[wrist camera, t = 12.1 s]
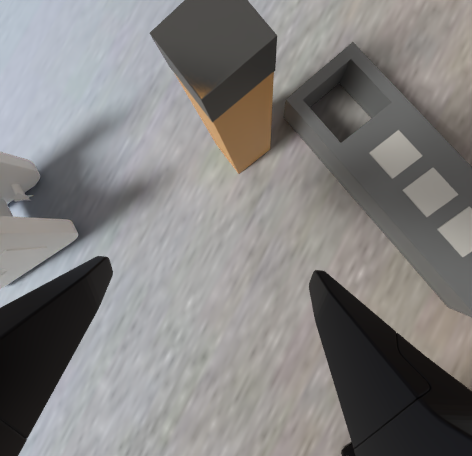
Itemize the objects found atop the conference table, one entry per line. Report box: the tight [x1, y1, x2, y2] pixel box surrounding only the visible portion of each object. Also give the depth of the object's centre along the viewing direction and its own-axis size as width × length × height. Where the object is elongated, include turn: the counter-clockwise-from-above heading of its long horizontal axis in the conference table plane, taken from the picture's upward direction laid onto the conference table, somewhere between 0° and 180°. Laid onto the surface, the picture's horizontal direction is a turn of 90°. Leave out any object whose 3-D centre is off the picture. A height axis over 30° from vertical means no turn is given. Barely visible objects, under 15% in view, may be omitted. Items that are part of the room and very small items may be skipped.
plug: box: [150, 0, 277, 173], centre depth 16 cm, size 4×4×13 cm
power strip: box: [283, 42, 472, 317], centre depth 19 cm, size 24×7×3 cm, turn 39°
